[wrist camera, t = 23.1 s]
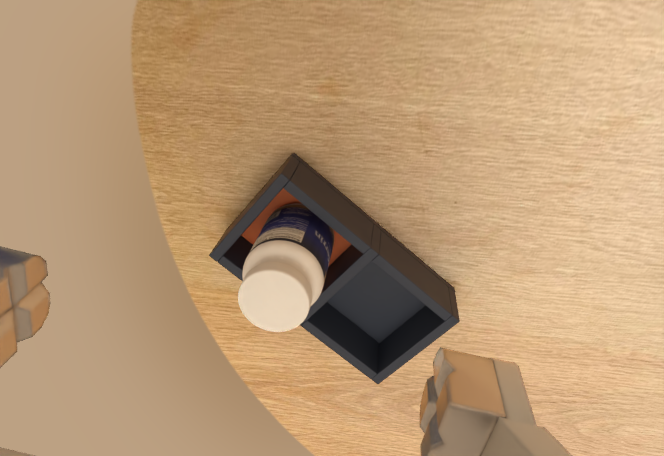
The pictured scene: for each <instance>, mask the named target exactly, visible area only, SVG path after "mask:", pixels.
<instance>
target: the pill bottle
mask: <svg viewBox="0 0 664 456" xmlns="http://www.w3.org/2000/svg"><path fill="white" fill-rule="evenodd" d="M333 246H334V231H333V229H332V228H331V227H330V226H329V225H327V224H326V223H325V222H324V221H323V220H321V219H320V218H319V217H318V216H316V215H315V214H314V213H313V212H312V211H310V210H309V209H308V208H307V207H306V206H304V205H303V204H299V203H294V204H288V205H285V206H282V207H280V208H278V209H277V210H275V211H274V212H273V213H272V214H271V215H270V217H269V218H268V220H267V221H266V223H265V225H264V226H263V228H262V230H261V232H260V234H259V236H258V238H257V239H256V241H255V243H254V245H253V247H252V249H251V250H250V252H249V254H248V256H247V258H246V260H245V263H244V266H243V272H242V277H243V281H242V283H241V286H240V288H239V292H238V303H239V306H240V309H241V311H242V313H243V314H244V316H245V317H246V318H247V319H248V320H249V321H250V322H251V323H252V324H254V325H255V326H257V327H259V328H261V329H264V330H267V331H272V332H284V331H289V330H292V329H294V328H296V327H297V326H299V325H300V324H301V323H302V322H303V321H304V320H305V319H306V317H307V315H308V313H309V310H310V306H312V305H313V304H314V303H315V302H316V301H317V299H318V298H319V296H320V294H321V292H322V289H323V286H324V282H325V278H326V274H327V270H328V266H329V262H330V258H331V254H332V250H333Z"/></svg>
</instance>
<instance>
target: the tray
mask: <svg viewBox="0 0 664 456" xmlns="http://www.w3.org/2000/svg"><path fill="white" fill-rule="evenodd" d="M294 203H299V204H303V205H304V206H306V207H307V208H308V209H309V210H310V211H312V212H313V213H314V214H315V215H316V216H318V217H319V218H320V219H321V220H323V221H324V222H325V223H326V224H327V225H329V226H330V227H331V228H332V229H333V231H334V246H333V250H332V254H331V258H330V262H329V266H328V270H327V274H326V278H325V282H324V286H323V289H322V292H321V294H320V296H319V298H318V299H317V301H316V302H315V303H314V304H313V305H312V306H310V310H309V313H308V315H307V317H306V319H305V320H304V321H303V322H302V323H301V324H300V326H302V327H303V328H304V329H306V330H307V331H308V332H310V333H311V334H312V335H314V336H315V337H316V338H318V339H319V340H320V341H322V342H323V343H324V344H325V345H327V346H328V347H329V348H331V349H332V350H333V351H335V352H336V353H337V354H339V355H340V356H341V357H343V358H344V359H345V360H347V361H348V362H349V363H350V364H352V365H353V366H354V367H356V368H357V369H358V370H360V371H361V372H362V373H364V374H365V375H366V376H368V377H369V378H370V379H372V380H373V381H374V382H376V383H377V384H379V383H380V382H382V381H383V380H384V379H386V378H387V377H388V376H389V375H391V374H392V373H393V372H395V371H396V370H397V369H399V368H400V367H401V366H402V365H404V364H405V363H406V362H408V361H409V360H410V359H412V358H413V357H414V356H415V355H417V354H418V353H419V352H421V351H422V350H423V349H425V348H426V347H427V346H428V345H430V344H431V343H432V342H434V341H435V340H436V339H437V338H439V337H440V336H441V335H443V334H444V333H445V332H447V331H448V330H449V329H450V328H452V327H453V326H454V325H456V324H457V323H458V322H459V315H458V309H457V302H456V296H455V289H454V288H453V287H452V286H451V285H450V284H448V283H447V282H446V281H445V280H444V279H443V278H441V277H440V276H439V275H438V274H437V273H435V272H434V271H433V270H432V269H431V268H430V267H428V266H427V265H426V264H425V263H424V262H422V261H421V260H420V259H419V258H418V257H417V256H415V255H414V254H413V253H412V252H411V251H409V250H408V249H407V248H406V247H405V246H404V245H402V244H401V243H400V242H399V241H398V240H396V239H395V238H394V237H393V236H392V235H391V234H389V233H388V232H387V231H386V230H385V229H383V228H382V227H381V226H380V225H379V224H378V223H376V222H375V221H374V220H373V219H372V218H370V217H369V216H368V215H367V214H366V213H365V212H363V211H362V210H361V209H360V208H359V207H357V206H356V205H355V204H354V203H353V202H352V201H350V200H349V199H348V198H347V197H346V196H344V195H343V194H342V193H341V192H340V191H339V190H337V189H336V188H335V187H334V186H333V185H331V184H330V183H329V182H328V181H327V180H326V179H324V178H323V177H322V176H321V175H320V174H318V173H317V172H316V171H315V170H314V169H313V168H311V167H310V166H309V165H308V164H307V163H305V162H304V161H303V160H302V159H301V158H300V157H298V156H297V155H296V154H295V153H293V154H292V155H291V156H290V157H289V158H288V159H287V161H286V162H285V163H284V164H283V165H282V166H281V167H280V169H279V170H278V171H277V172H276V173H275V174H274V176H273V177H272V178H271V179H270V180H269V181H268V182H267V184H266V185H265V186H264V187H263V188H262V189H261V191H260V192H259V193H258V194H257V195H256V196H255V197H254V199H253V200H252V201H251V202H250V203H249V204H248V206H247V207H246V208H245V209H244V210H243V211H242V212H241V214H240V215H239V216H238V217H237V218H236V219H235V221H234V222H233V223H232V224H231V225H230V226H229V227H228V229H227V230H226V231H225V233H224V234H223V236H222V237H221V239H220V240H219V242H218V243H217V245H216V246H215V248H214V249H213V250H212V252H211V253H210V255H209V256H210V257H211V258H213V259H214V260H215V261H218V263H219V264H221V265H222V266H223V267H225V268H226V269H227V270H228V271H230V272H231V273H232V274H234V275H235V276H236V277H238V278H239V279H240V280H242V281H243V277H242V272H243V266H244V263H245V260H246V258H247V256H248V254H249V252H250V250H251V249H252V247H253V245H254V243H255V241H256V239H257V238H258V236H259V234H260V232H261V230H262V228H263V226H264V225H265V223H266V221H267V220H268V218H269V217H270V215H271V214H272V213H273V212H274V211H275V210H277V209H278V208H280V207H282V206H285V205H288V204H294Z"/></svg>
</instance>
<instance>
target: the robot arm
mask: <svg viewBox="0 0 664 456" xmlns="http://www.w3.org/2000/svg"><path fill="white" fill-rule="evenodd" d="M47 276H48V271H47V264H46V261H45V260H44V259H43V258H42V257H41V256H37V255H33V254H29V253H25V252H21V251H17V250H13V249H9V248H5V247H1V246H0V368H1V367H2V366H3V365H4V364H5V363H6V362H7V361H8V360H9V359H10V358H11V357H12V356H13V355H14V354H15V353H16V352H17V342H20V341H23V340H25V339H28V338H30V337H33V335H35V333H36V332H37V331H38V330H39V329H40V328H41V327H42V325H43V323H44V321H45V320H46V317H47V316H48V313H49V307H50V294H49V292H48V290H47V289H46V288H45V286H44V285H43V284H42V281H43V280H44V279H45V278H46V277H47ZM433 368H434V376H432V377H431V378H429V379H427V382H426V385H425V388H424V391H423V395H422V400H421V405H420V428H421V429H422V430H423V432H424V433H425V435H424V437H423V440H422V443H421V456H572V455H571V454H570V453H569V452H568V451H567V450H566V449H565V448H564V447H563V446H562V445H561V444H560V443H559V442H558V441H557V440H556V439H555V438H554V437H553V436H552V435H551V434H550V433H549V432H548V431H547V430H546V429H545V428H544V427H540V426H537V425H536V421H535V418H534V415H533V412H532V408H531V405H530V402H529V399H528V395H527V392H526V389H525V385H524V382H523V379H522V376H521V372H520V369H519V366H518V365H517V364H516V363H514V362H509V361H504V360H499V359H494V358H485V357H481V356H476V355H472V354H467V353H463V352H458V351H454V350H449V349H445V348H440V349H439V350H438V352H437V354H436V357H435V359H434V362H433ZM0 456H35V455H30V454H26V453H21V452H17V451H14V450H9V449H5V448H1V447H0Z"/></svg>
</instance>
